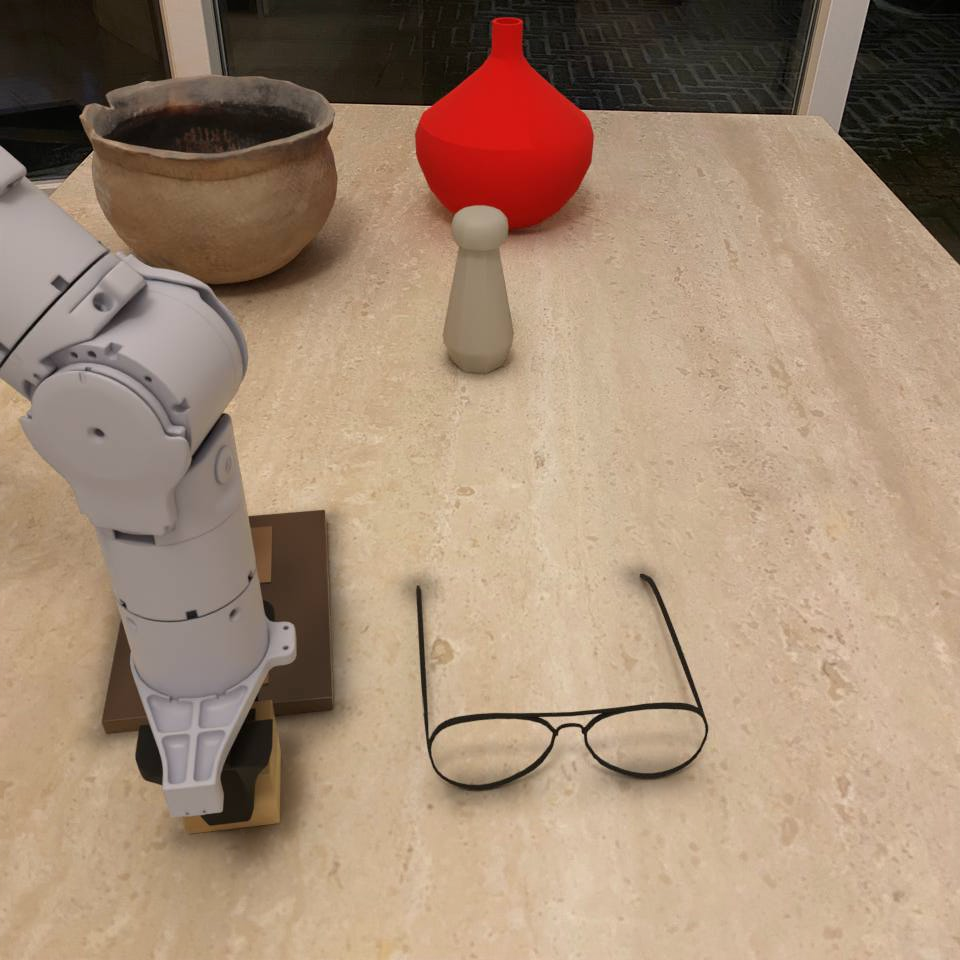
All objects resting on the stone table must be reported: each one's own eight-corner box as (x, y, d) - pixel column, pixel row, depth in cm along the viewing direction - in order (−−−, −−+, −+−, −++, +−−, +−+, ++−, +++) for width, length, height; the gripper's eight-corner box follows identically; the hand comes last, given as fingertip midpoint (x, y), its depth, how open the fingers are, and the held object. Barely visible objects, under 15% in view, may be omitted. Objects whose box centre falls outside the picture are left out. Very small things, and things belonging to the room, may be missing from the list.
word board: (105, 734, 53) (100, 720, 52) (141, 536, 65) (137, 523, 65) (333, 709, 54) (332, 696, 54) (326, 520, 67) (324, 507, 66)
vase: (622, 212, 108) (642, 22, 96) (508, 265, 97) (515, 59, 85) (497, 167, 118) (501, -10, 106) (381, 211, 107) (371, 20, 95)
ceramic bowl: (115, 228, 103) (81, 77, 94) (325, 207, 108) (312, 61, 98) (116, 332, 86) (74, 161, 77) (365, 301, 91) (353, 136, 82)
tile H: (187, 834, 48) (171, 782, 46) (194, 759, 52) (180, 706, 49) (280, 823, 49) (269, 771, 46) (280, 749, 52) (271, 696, 50)
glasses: (426, 795, 50) (423, 722, 47) (416, 609, 63) (414, 543, 60) (705, 776, 51) (718, 704, 48) (641, 597, 64) (647, 532, 61)
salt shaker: (435, 348, 85) (432, 200, 77) (499, 338, 86) (503, 193, 78) (454, 384, 80) (454, 231, 72) (522, 373, 82) (528, 222, 74)
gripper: (282, 700, 36) (316, 901, 44) (285, 459, 47) (311, 655, 55) (77, 721, 35) (151, 922, 43) (130, 471, 46) (181, 668, 55)
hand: (232, 773), depth 49 cm, fingers closed on tile H, 4 cm apart
